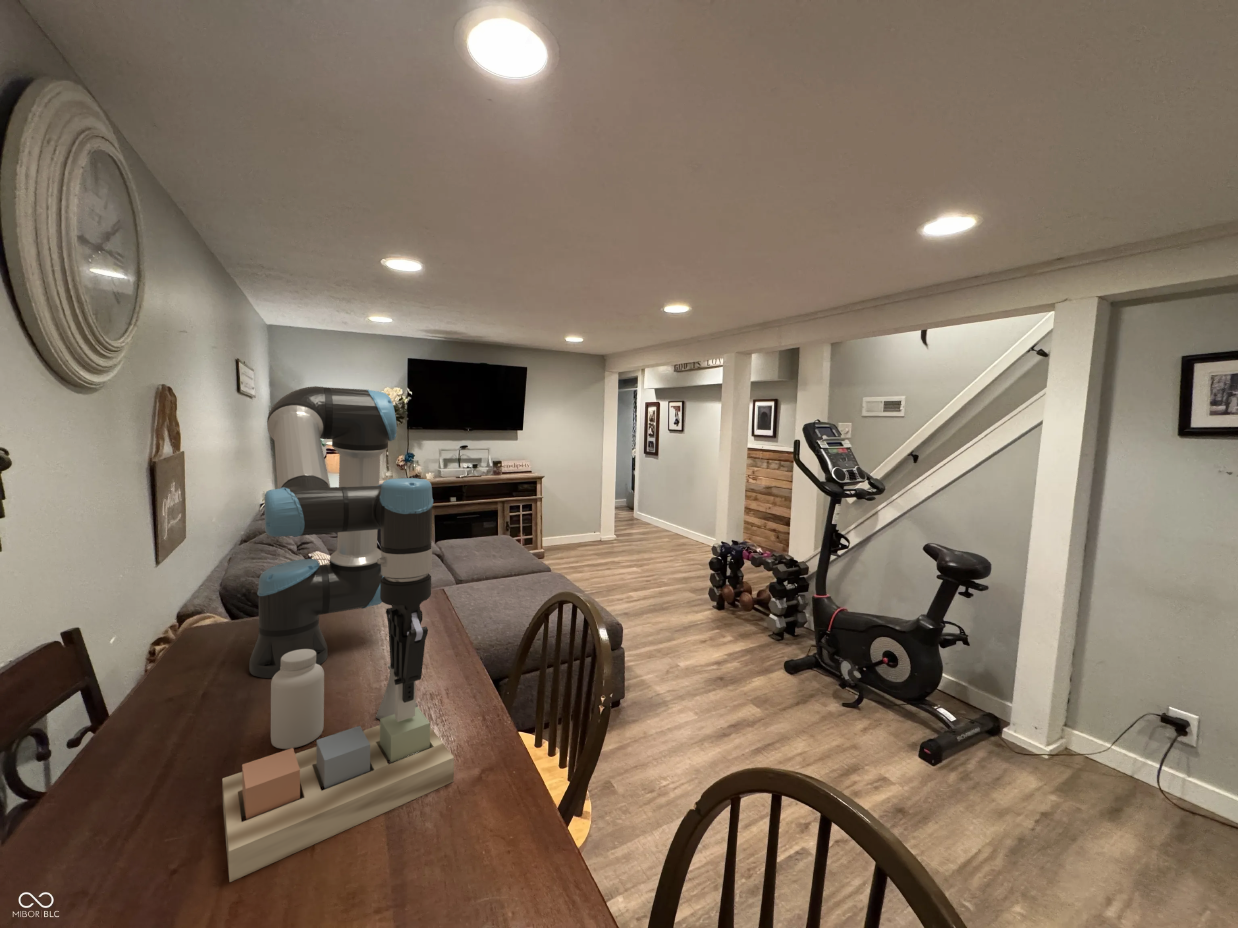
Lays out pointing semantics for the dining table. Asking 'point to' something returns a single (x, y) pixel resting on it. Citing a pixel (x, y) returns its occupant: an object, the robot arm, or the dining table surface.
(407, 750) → the button sage
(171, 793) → the dining table surface
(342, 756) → the button slate
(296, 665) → the pill bottle
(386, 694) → the flask
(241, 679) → the dining table surface
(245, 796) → the button terracotta
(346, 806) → the panel
